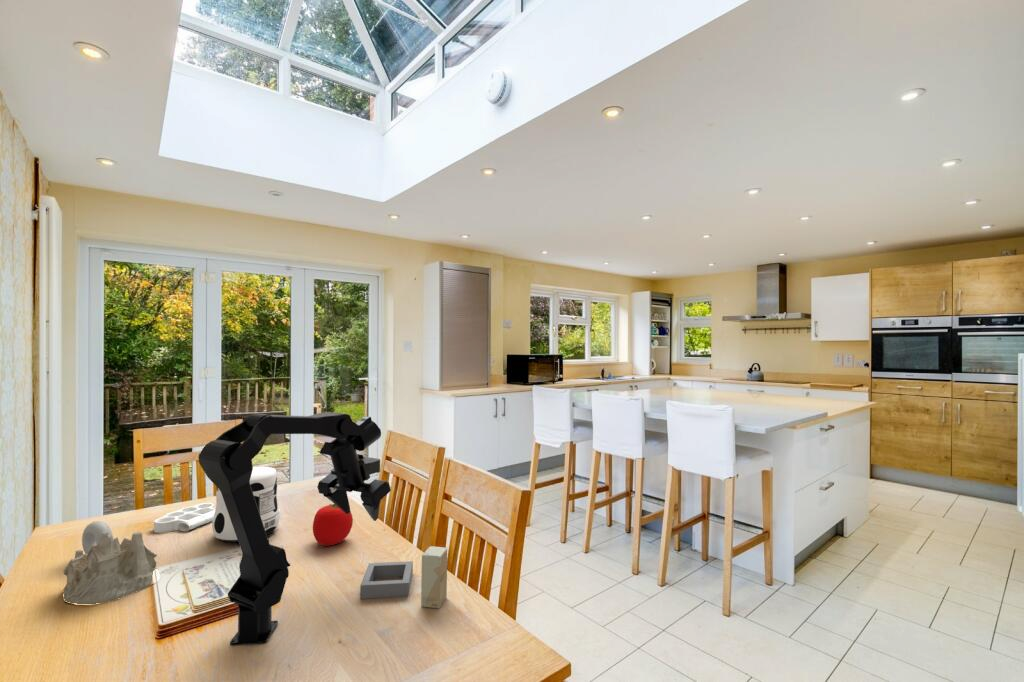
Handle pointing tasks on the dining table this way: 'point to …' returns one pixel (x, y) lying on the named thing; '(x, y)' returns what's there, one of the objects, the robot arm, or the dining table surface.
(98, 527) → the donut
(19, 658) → the dining table surface
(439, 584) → the box
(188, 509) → the white dimpled tray
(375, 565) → the block
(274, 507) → the milk container
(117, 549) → the grey castle model
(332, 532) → the tomato
